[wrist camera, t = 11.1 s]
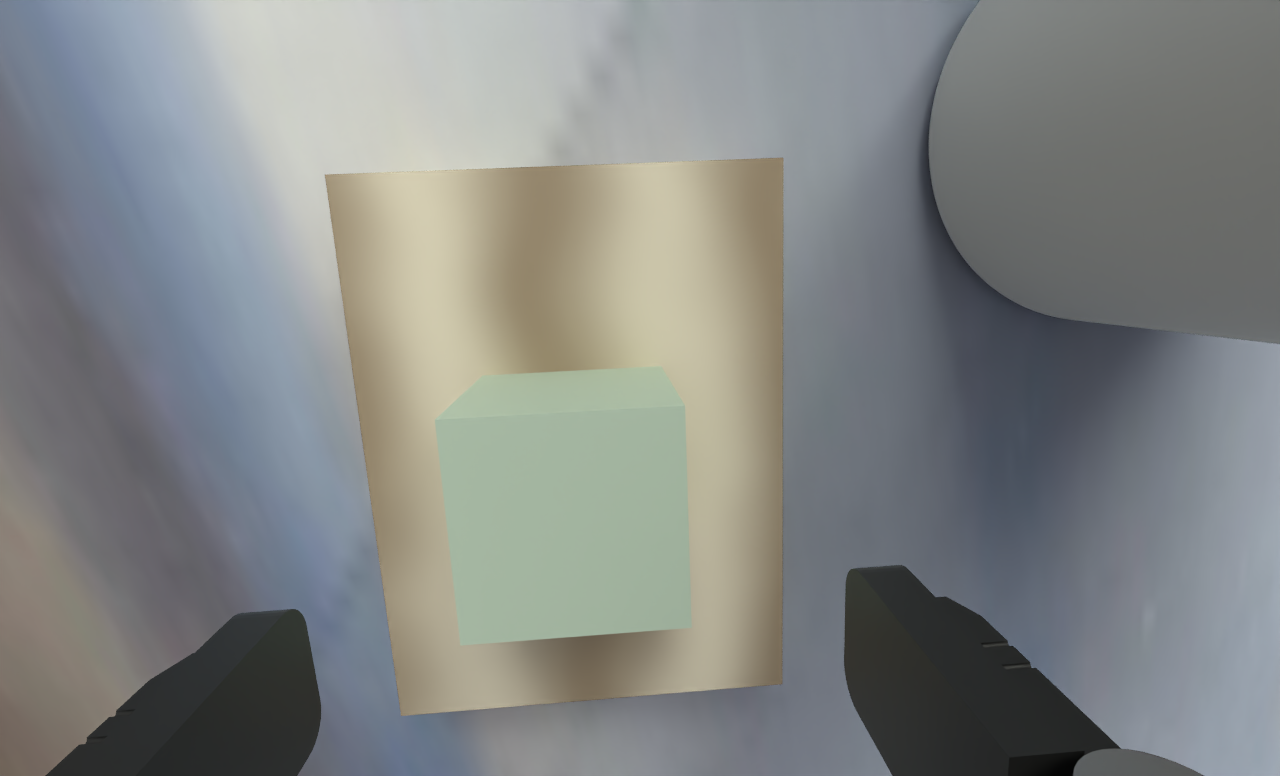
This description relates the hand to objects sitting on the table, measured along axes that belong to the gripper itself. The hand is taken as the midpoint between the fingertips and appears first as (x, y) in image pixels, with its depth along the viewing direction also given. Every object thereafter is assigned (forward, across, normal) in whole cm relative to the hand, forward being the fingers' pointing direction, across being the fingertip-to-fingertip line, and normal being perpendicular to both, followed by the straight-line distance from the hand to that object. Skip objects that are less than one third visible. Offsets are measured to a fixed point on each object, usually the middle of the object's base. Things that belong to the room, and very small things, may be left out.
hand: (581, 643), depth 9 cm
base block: (+13, 0, 0) cm, 13 cm away
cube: (+9, 0, 0) cm, 9 cm away
